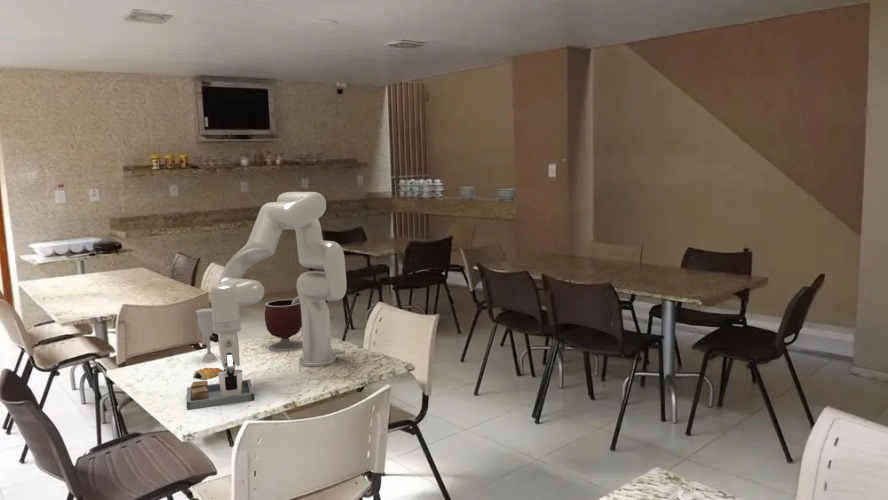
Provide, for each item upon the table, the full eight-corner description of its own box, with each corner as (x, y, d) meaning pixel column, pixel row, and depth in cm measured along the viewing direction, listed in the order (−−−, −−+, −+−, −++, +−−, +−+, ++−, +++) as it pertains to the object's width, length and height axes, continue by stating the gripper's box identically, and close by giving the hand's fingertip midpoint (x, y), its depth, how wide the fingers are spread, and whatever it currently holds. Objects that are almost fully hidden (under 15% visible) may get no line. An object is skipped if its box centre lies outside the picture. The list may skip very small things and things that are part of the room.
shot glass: (235, 398, 186) (234, 374, 186) (214, 398, 188) (213, 374, 188) (248, 392, 193) (246, 369, 193) (227, 392, 195) (226, 369, 195)
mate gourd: (270, 354, 237) (266, 300, 235) (263, 345, 250) (260, 294, 247) (312, 348, 243) (309, 296, 241) (304, 340, 256) (301, 290, 253)
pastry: (215, 373, 217) (215, 362, 216) (229, 376, 213) (228, 365, 213) (191, 381, 209) (190, 369, 209) (204, 384, 205) (203, 373, 205)
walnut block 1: (208, 393, 193) (207, 380, 193) (206, 398, 189) (205, 384, 189) (193, 394, 192) (193, 381, 192) (191, 399, 188) (190, 386, 188)
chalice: (224, 359, 232) (221, 309, 230) (208, 364, 226) (204, 313, 224) (210, 356, 236) (207, 307, 234) (194, 361, 230) (191, 311, 228)
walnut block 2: (206, 399, 188) (205, 386, 187) (209, 403, 185) (208, 390, 184) (191, 402, 186) (190, 389, 185) (194, 406, 182) (193, 393, 182)
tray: (250, 388, 200) (250, 379, 199) (254, 403, 187) (254, 393, 186) (187, 397, 193) (186, 387, 193) (187, 413, 180) (186, 402, 180)
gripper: (242, 331, 182) (246, 392, 184) (238, 318, 198) (242, 375, 200) (214, 334, 179) (218, 396, 181) (212, 321, 195) (216, 378, 197)
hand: (230, 385), depth 191 cm, fingers open, 7 cm apart
